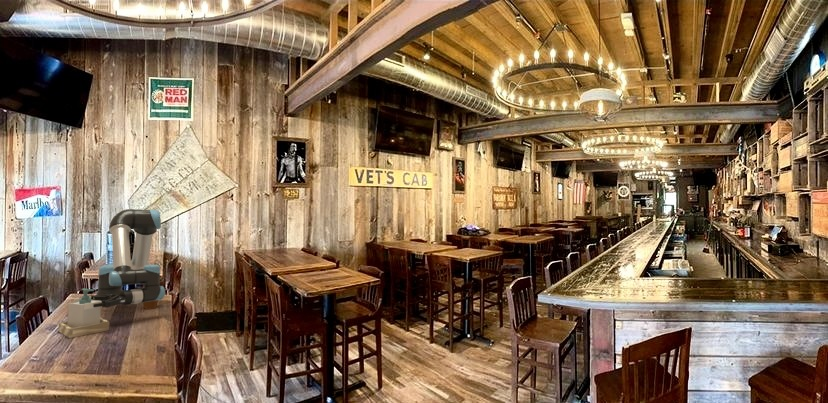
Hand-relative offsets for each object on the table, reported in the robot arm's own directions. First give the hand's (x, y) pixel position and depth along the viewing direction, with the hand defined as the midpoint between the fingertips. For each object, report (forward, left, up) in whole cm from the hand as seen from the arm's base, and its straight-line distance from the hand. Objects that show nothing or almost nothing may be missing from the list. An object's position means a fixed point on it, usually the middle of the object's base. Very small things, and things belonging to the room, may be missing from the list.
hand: (78, 304), depth 186 cm
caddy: (0, +2, -13) cm, 13 cm away
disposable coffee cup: (-21, +40, -14) cm, 47 cm away
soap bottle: (0, +2, -12) cm, 13 cm away
